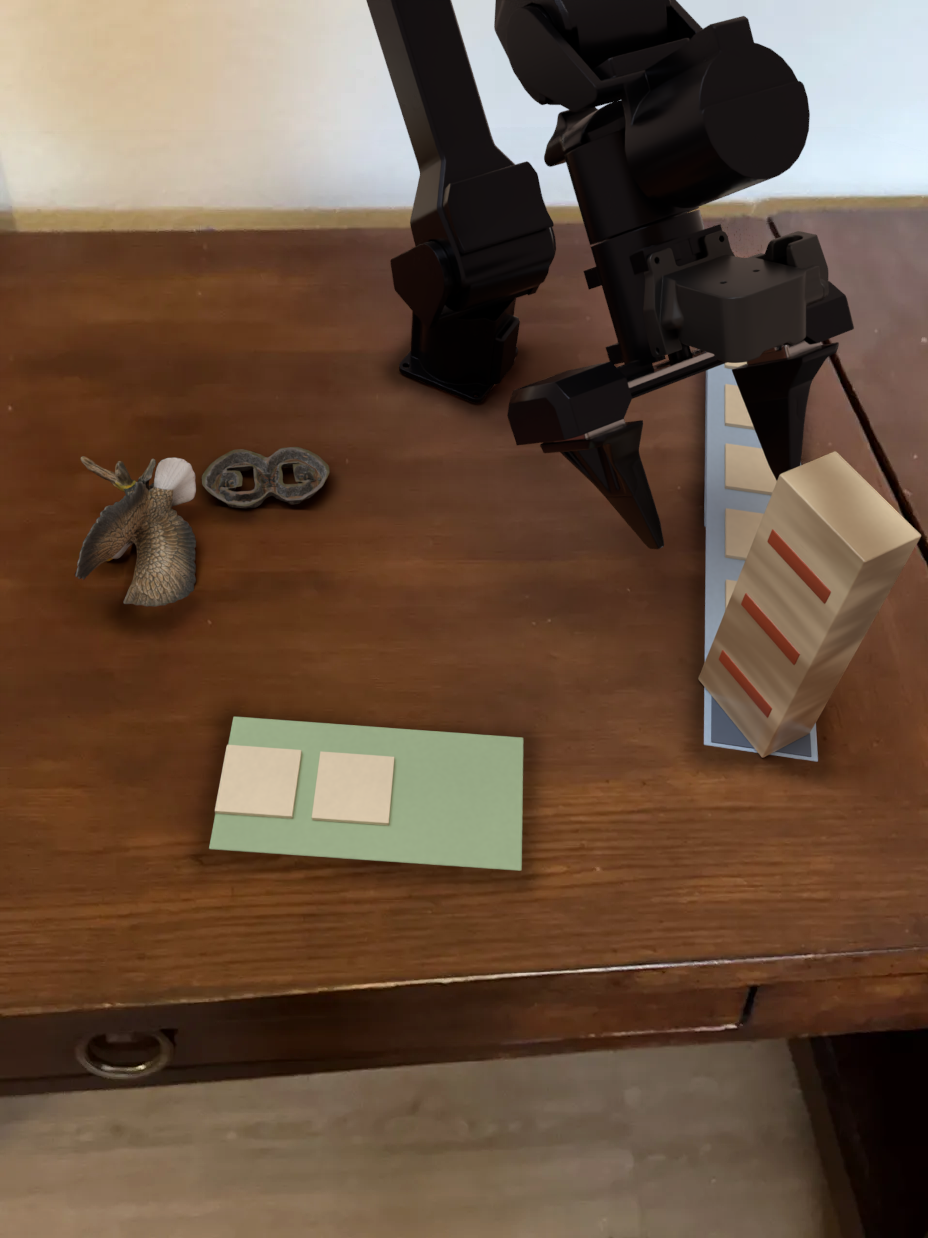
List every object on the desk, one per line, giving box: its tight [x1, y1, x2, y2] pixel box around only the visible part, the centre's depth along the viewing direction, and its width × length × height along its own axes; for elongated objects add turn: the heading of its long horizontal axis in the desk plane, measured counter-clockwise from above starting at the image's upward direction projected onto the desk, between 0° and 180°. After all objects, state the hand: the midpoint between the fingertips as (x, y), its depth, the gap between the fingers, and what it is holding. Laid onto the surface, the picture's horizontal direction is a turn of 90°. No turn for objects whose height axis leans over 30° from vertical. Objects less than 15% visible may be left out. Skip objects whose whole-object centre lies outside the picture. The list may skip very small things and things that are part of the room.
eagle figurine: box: [74, 455, 197, 607], centre depth 71 cm, size 8×7×9 cm
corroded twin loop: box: [201, 446, 331, 509], centre depth 77 cm, size 5×8×1 cm, turn 100°
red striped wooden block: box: [697, 450, 922, 759], centre depth 62 cm, size 4×6×17 cm, turn 30°
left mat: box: [208, 716, 525, 872], centre depth 64 cm, size 16×8×1 cm, turn 88°
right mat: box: [703, 362, 819, 763], centre depth 79 cm, size 37×6×1 cm, turn 173°
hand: (725, 517), depth 65 cm, fingers open, 9 cm apart
